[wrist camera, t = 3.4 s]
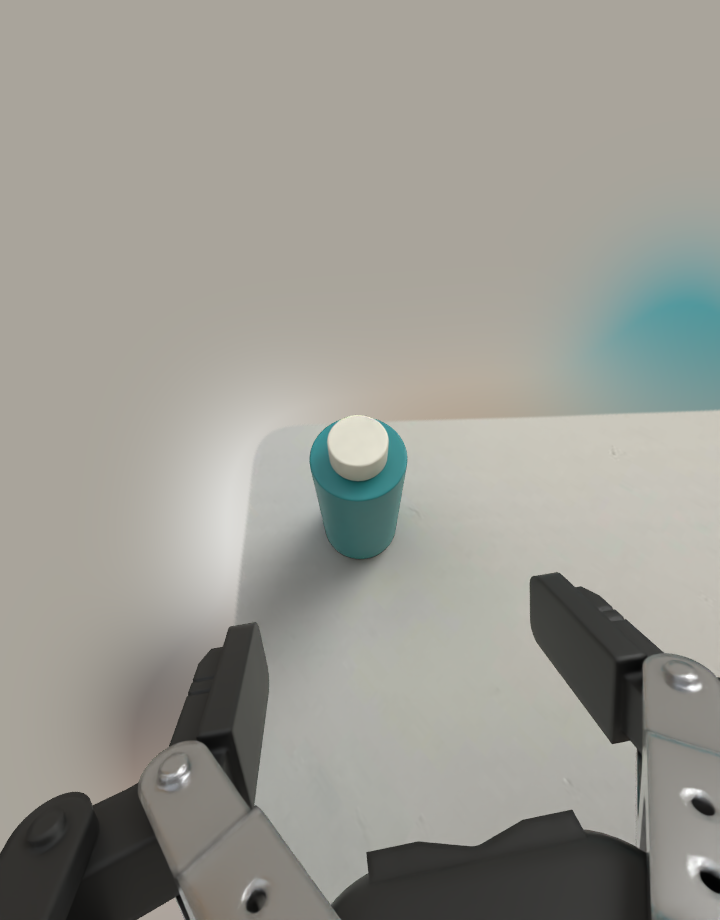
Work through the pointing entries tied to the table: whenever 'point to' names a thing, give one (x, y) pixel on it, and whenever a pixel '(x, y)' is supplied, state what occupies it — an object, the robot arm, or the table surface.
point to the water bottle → (359, 483)
